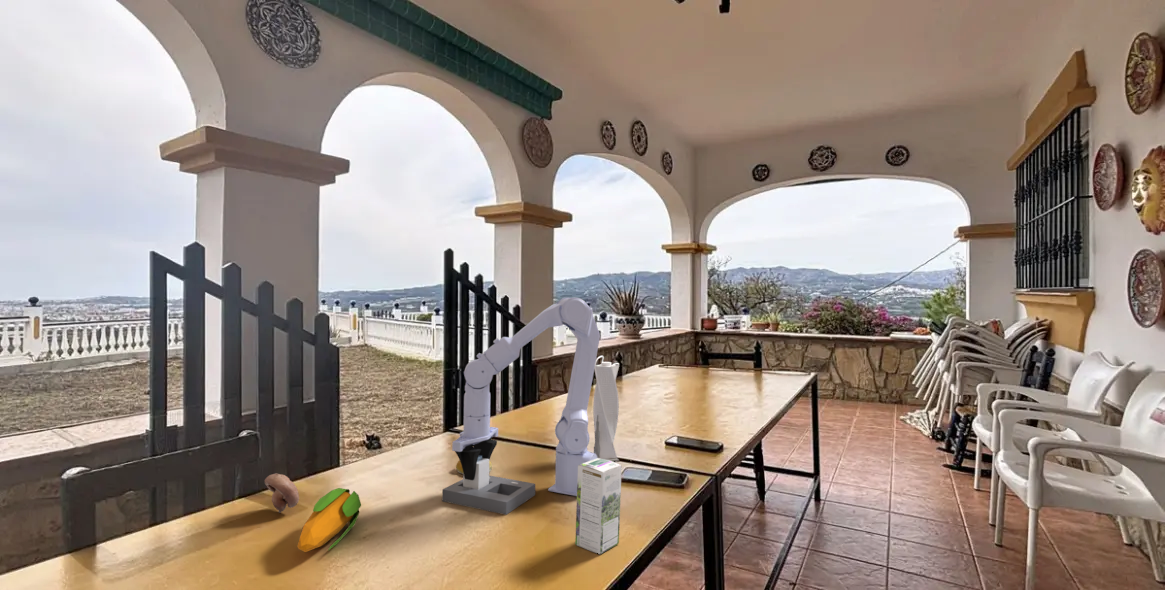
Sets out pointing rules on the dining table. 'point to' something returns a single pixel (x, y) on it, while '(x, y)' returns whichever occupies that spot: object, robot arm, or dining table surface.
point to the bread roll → (460, 470)
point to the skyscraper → (605, 410)
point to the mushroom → (282, 491)
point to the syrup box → (598, 505)
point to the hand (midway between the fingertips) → (475, 476)
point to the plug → (479, 475)
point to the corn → (330, 518)
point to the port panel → (491, 495)
